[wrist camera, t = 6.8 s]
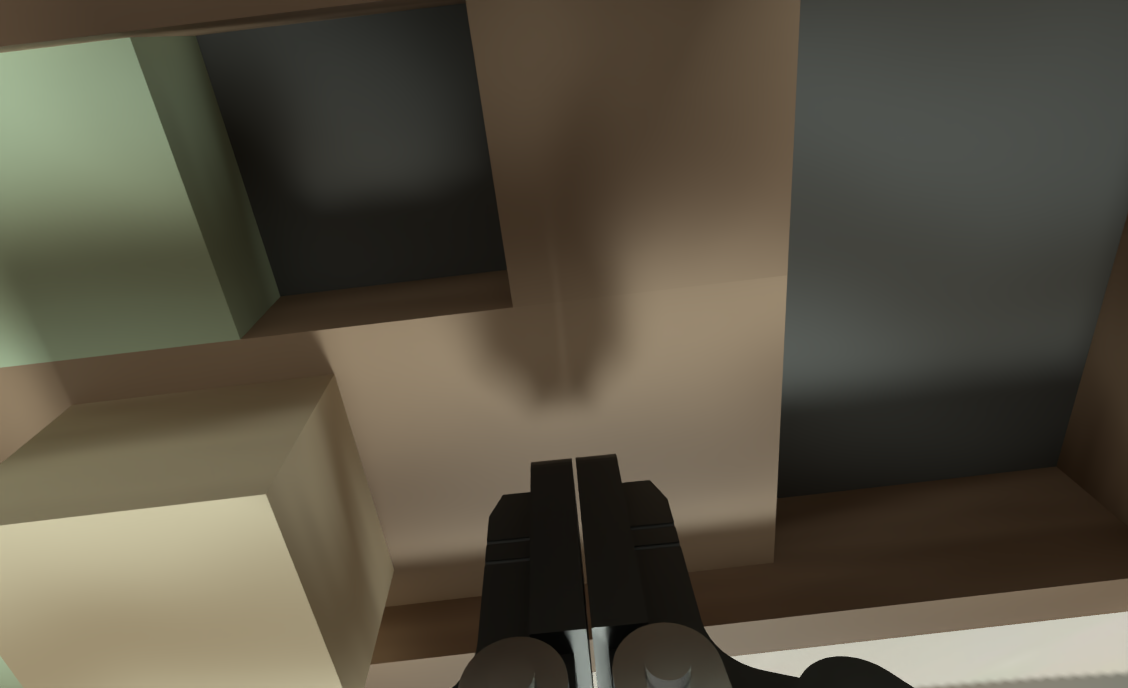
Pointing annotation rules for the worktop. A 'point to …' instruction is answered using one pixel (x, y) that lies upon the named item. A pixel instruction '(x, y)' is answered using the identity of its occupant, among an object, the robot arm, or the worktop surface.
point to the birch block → (193, 544)
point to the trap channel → (614, 278)
